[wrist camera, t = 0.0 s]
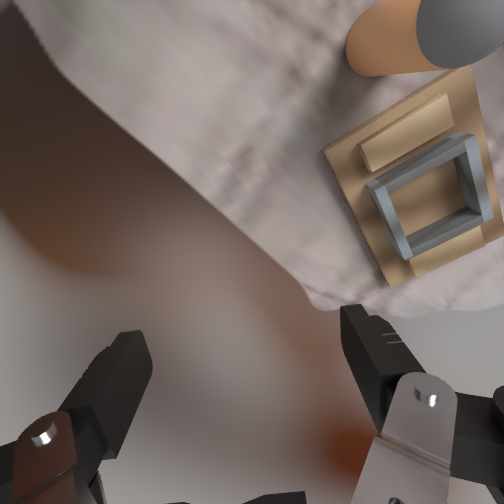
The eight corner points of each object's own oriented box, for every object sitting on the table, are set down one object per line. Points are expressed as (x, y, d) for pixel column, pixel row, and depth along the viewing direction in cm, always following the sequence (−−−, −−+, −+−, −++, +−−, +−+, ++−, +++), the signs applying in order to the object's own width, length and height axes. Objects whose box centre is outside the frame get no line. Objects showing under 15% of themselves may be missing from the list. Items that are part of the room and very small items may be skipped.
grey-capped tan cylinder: (365, -5, 24) (503, -112, 11) (415, 22, 25) (595, -48, 12) (335, 63, 26) (421, 38, 13) (382, 85, 27) (504, 83, 14)
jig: (321, 149, 30) (331, 156, 26) (461, 62, 26) (491, 59, 23) (386, 282, 38) (399, 300, 35) (498, 230, 35) (524, 244, 31)
